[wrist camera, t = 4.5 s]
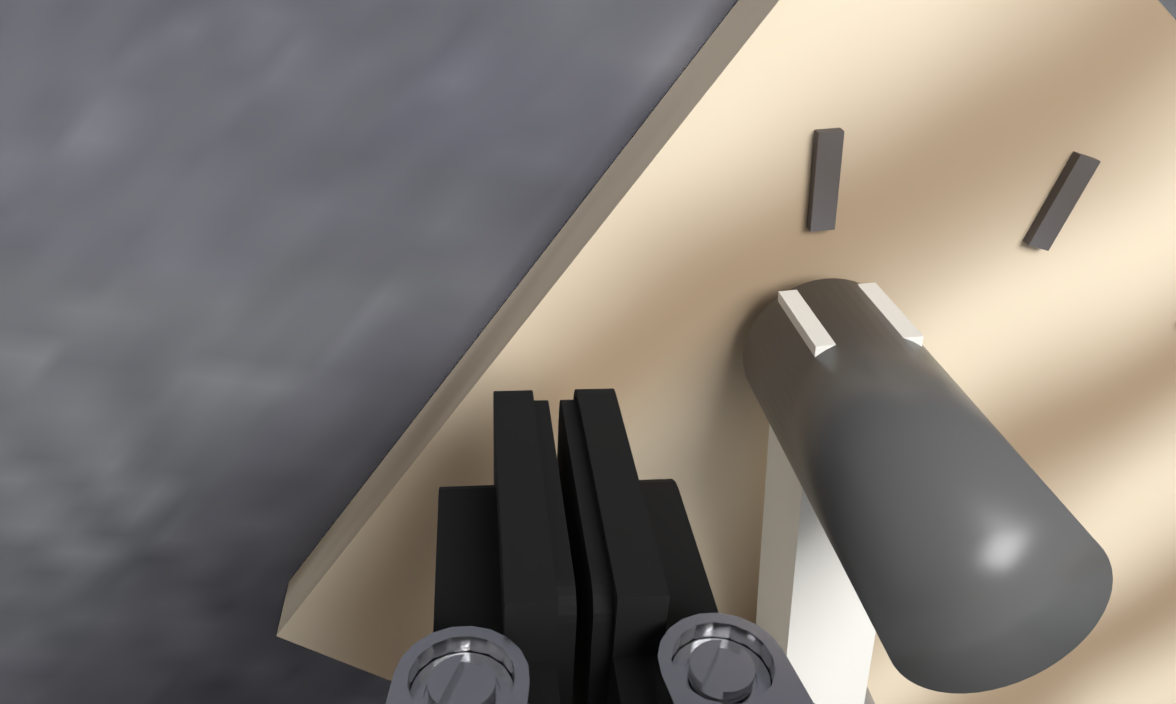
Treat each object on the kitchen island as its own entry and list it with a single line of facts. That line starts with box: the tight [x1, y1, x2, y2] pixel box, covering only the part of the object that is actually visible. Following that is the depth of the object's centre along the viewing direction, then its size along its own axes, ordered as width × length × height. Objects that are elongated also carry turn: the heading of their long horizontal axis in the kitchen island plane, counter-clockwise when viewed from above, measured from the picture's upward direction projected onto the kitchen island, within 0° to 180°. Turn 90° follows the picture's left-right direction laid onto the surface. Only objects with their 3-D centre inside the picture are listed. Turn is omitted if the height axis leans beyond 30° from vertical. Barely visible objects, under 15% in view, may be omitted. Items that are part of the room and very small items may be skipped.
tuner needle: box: [743, 278, 1113, 704], centre depth 15 cm, size 12×4×6 cm, turn 3°
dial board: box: [277, 0, 1176, 704], centre depth 19 cm, size 20×18×2 cm
